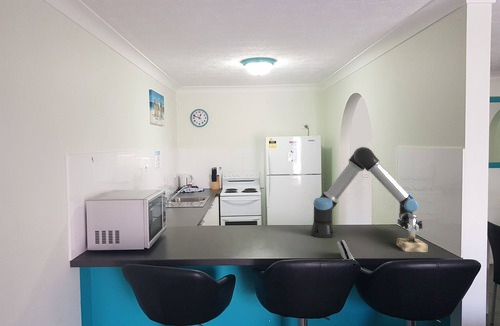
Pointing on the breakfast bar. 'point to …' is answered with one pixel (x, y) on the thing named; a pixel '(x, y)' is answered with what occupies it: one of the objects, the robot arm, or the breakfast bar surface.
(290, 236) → the breakfast bar surface
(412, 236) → the pin
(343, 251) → the hinge
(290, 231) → the breakfast bar surface
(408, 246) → the socket block
